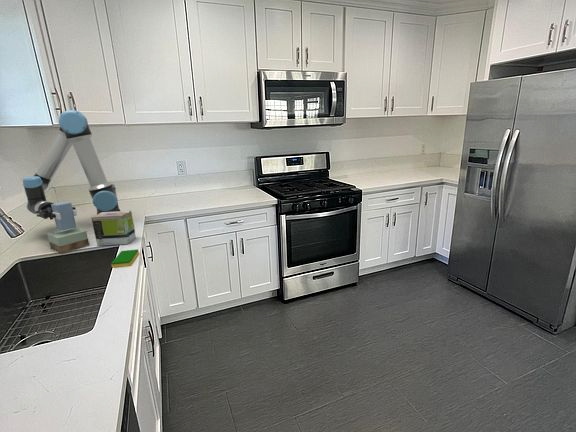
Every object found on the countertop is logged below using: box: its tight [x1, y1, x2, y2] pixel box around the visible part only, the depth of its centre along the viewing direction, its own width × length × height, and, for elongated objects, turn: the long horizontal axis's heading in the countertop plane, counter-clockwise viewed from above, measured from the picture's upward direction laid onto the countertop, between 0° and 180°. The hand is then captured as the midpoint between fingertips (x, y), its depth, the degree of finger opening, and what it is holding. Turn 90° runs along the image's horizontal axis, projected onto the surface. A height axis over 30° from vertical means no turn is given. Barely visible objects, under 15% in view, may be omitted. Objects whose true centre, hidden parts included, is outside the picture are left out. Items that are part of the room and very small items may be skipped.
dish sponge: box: [111, 249, 140, 268], centre depth 135 cm, size 7×14×2 cm, turn 11°
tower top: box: [47, 226, 89, 246], centre depth 151 cm, size 12×12×4 cm
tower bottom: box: [48, 238, 90, 254], centre depth 153 cm, size 12×12×4 cm
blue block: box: [51, 201, 77, 231], centre depth 149 cm, size 6×6×12 cm
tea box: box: [90, 210, 137, 246], centre depth 156 cm, size 15×10×15 cm
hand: (67, 214), depth 147 cm, fingers closed on blue block, 6 cm apart
